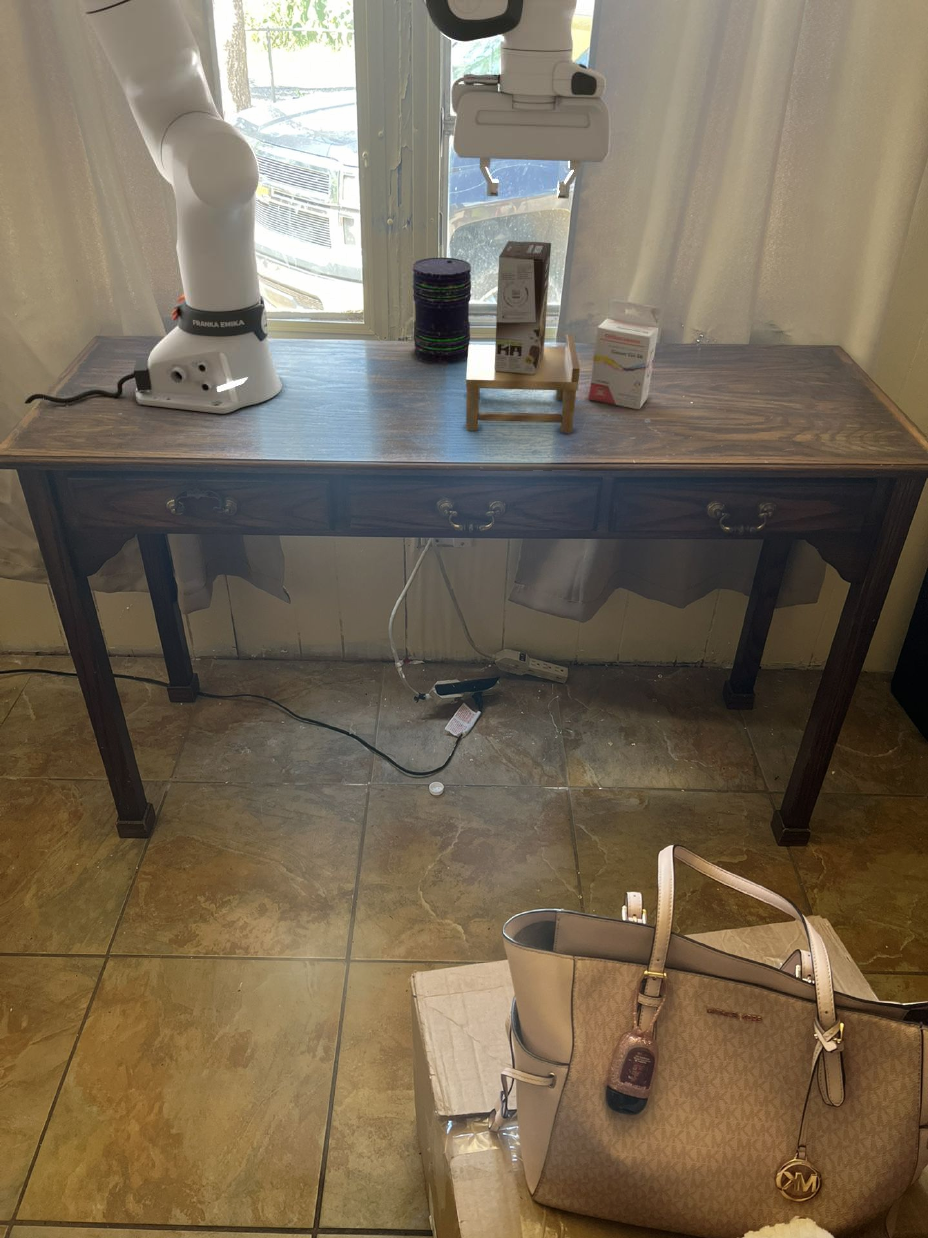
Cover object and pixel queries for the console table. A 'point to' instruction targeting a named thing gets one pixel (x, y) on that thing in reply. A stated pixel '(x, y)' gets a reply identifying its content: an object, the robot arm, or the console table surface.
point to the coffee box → (522, 306)
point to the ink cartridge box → (624, 355)
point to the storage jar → (441, 309)
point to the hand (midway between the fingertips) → (527, 196)
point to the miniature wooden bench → (524, 384)
